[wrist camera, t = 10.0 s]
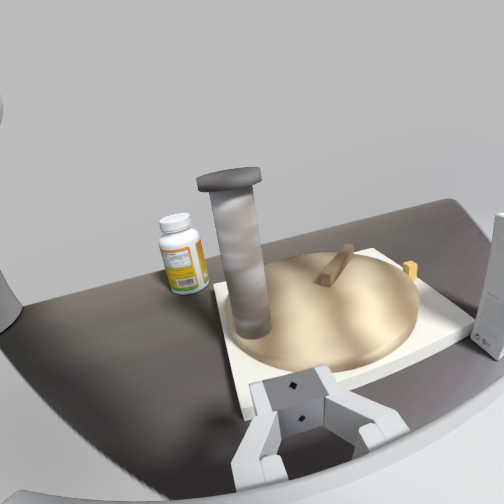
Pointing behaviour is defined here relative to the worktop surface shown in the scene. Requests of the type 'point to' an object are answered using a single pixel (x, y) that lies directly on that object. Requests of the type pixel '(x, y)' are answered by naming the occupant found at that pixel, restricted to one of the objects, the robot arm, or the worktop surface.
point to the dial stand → (410, 352)
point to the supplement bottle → (182, 255)
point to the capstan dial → (304, 292)
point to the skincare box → (492, 298)
